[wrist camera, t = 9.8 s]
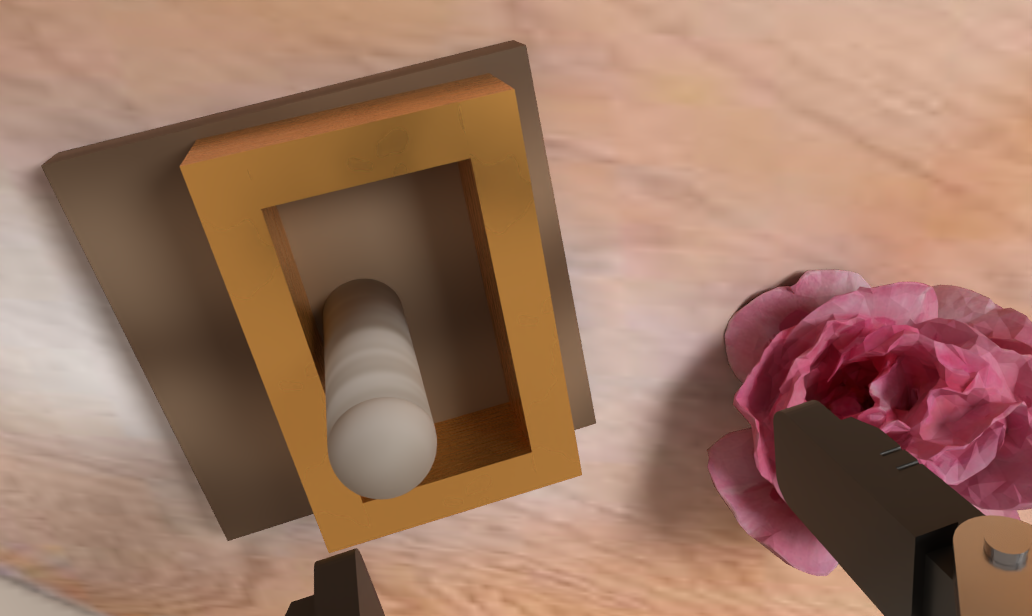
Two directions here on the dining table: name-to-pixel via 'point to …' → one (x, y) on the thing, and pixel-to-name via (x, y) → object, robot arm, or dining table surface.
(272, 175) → the orange rectangular frame
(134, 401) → the dining table surface
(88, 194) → the keeper base
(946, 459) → the flower
